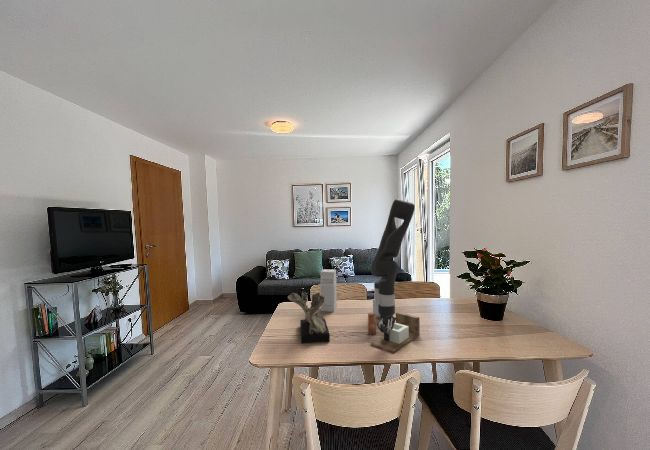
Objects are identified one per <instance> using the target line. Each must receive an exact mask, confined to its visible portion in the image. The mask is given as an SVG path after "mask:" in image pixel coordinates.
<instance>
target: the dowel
mask: <svg viewBox="0 0 650 450" xmlns="http://www.w3.org/2000/svg"><path fill="white" fill-rule="evenodd" d="M367 334H368V335H371V336H375V335H376V334H377V318H376V313H373V311H372V312H368V313H367Z"/></svg>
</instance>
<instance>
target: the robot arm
mask: <svg viewBox="0 0 650 450" xmlns="http://www.w3.org/2000/svg"><path fill="white" fill-rule="evenodd" d="M415 207H416V206H415V204H414V203H413V202H409V201H408V200H407V201H406V200H403V199H398V198H396V199H395V200H393V202H392V204H391V207H390V210H389V214H388V218H387V223H386V225H385V228H384V230H383V233H382V235H381V238H380V242H379V247H378V250H377V251H376V254H375V255H374V259H373V261H372V263H371V265H370V266H371V267H370V272H371V275H372V276H374V277H377V278H379V277H380V279H378V280H377V281H374V283H373V284H374V286H373V287H374V289H373V290H374V299H372V313H376V319H379V322H376V327H377V328H378V329H379V331H380V332H381V333H382V332H383V333H384V340H385V341H389V340H390V332H391V330H392V329H393V326H394V323H396V316H395V317H394V315H396V298H395V284H396V279H397V277H398V276H397V274H398V272H399V265H398V263H397V262H396V261H395V260H392V259H395V258H397V257H398V256H399V253H400V251H401V250H400V249H401V246H402V243H403V240H404V238H405V235H406V233H407V230H408V229H409V226H410V223H411V221H412V218H413V216H414V214H415V213H414V212H415V209H416V208H415ZM396 218H397V219H399V220H403V222H402V224H401V225H400V226H399V227H397V225H396Z"/></svg>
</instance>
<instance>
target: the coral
mask: <svg viewBox="0 0 650 450" xmlns="http://www.w3.org/2000/svg"><path fill="white" fill-rule="evenodd" d="M287 299H288V300H289V301H291V302H293V303H294V304H295V305H298V306H299V307H301V310H303V312H304V314H305V316H304V319H300V320H299V321H300V322H299V323H300V324H299V325H300V339H301V340H300V341H301V342H300V343H301V344H313V343H327V342H330V341H331V338H330V337H331V336H330V335H331V334H330V330H329V328H328V325H327V321H326V319H325V318H324V315H321V314H320V313H318V312H317V311H319V309H321V305H322V304H323V303H324V299H325V297H323V296H322V295H321V292H317V293H314V294H312V295H311V302H310V307H309V306H308V305H307V301H308V300H307V292H306V291H302V292H301V296H300V294H298V293H297V292H296V293H295V292H292V293H290V294H289V295H288V296H287ZM316 312H317V313H316Z"/></svg>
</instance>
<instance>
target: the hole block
mask: <svg viewBox="0 0 650 450" xmlns="http://www.w3.org/2000/svg"><path fill="white" fill-rule="evenodd" d="M381 337H382V338H383V339H384V333H383V332H381ZM407 338H409V326H406V325H402V324H399V323H396V322H395V323H394V326H393V329H392V330H391V332H390V340H389V341H392V342H395V343H398V344H400V343H402V342H403V341H404V340H406V339H407Z"/></svg>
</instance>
